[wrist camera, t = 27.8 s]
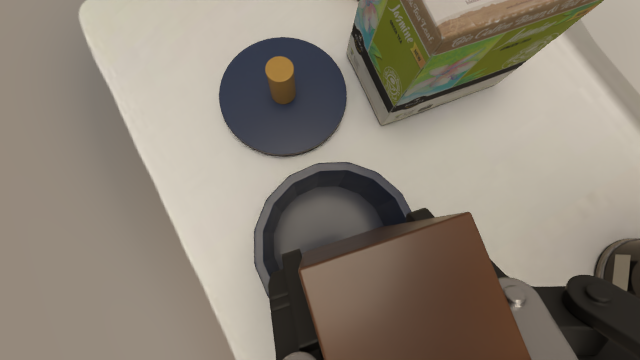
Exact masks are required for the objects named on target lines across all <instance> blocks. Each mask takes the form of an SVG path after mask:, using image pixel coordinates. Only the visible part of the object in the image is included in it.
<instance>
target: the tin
mask: <svg viewBox="0 0 640 360" xmlns="http://www.w3.org/2000/svg"><path fill="white" fill-rule="evenodd" d="M410 212H411V210H410V208H409V206H408V204H407V202H406V200H405V198H404V197H403V195H402V194H401V192H400V191H399V190H397V189H396V188H395V187H394V186H393V185H392V184H390V183H389V182H388V181H387V180H386V179H385V178H384V177H382V176H381V175H380V174H379V173H377V172H375V171H372V170H369V169H366V168H364V167H361V166H358V165H355V164H352V163H350V162H337V163H318V164H314V165H312V166H310V167H308V168H305V169H303V170H301V171H299V172H297V173H294V174H292V175H290V176H289V177H287V178H286V179H285V181H284V182H283V183H282V184H281V185H280V186H279V187H278V188H277V189H276V190H275V191H274V192H273V193H272V194H271V195H270V196H269V197H268V198H267V200H266V202H265V204H264V207H263V209H262V212H261V214H260V217H259V219H258V222H257V224H256V227H255V231H254V263H255V267H256V269H257V272H258V274H259V277H260V279H261V281H262V284H263V286H264V288H265V291H266V293H267V296H268V297H269V292H268V283H269V280H270V277H271V273H272V272H275V271H278V270H281V269H284V267H283V262H282V256H281V255H282V254H284V253H287V252H290V251H293V250H296V249H300V251H301V254H302V257H303V253H304V252H306V251H309V250H312V249H315V248H318V247H321V246H324V245H327V244H330V243H333V242H336V241H339V240H342V239H345V238H349V237H352V236H355V235H358V234H361V233H364V232H367V231H370V230H373V229H376V228H379V227H384V226H390V225H395V224H401V223H406V214H407V213H410Z"/></svg>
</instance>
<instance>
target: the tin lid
mask: <svg viewBox="0 0 640 360" xmlns="http://www.w3.org/2000/svg"><path fill="white" fill-rule="evenodd" d="M219 101H220V107H221V112H222V114H223V117H224V119H225V121H226V123H227V125H228V126H229V128H230V129H231V131H232V132H233V133H234V134H235V135H236V136H237V138H238V139H240V140H241V141H242V142H243V143H245V144H246V145H248V146H249V147H251V148H253V149H255V150H257V151H260V152H263V153H266V154H271V155H279V156H287V155H296V154H300V153H304V152H306V151H309V150H311V149H313V148H315V147H317V146H319V145H320V144H322V143H323V142H324V141H325V140H327V139H328V138H329V137H330V136H331V135H332V133H333V132H334V131H335V130H336V128H337V127H338V125H339V123H340V121H341V119H342V117H343V114H344V110H345V106H346V85H345V81H344V78H343V75H342V73H341V71H340V69H339V68H338V66H337V64H336V63H335V62H334V61H333V59H332V58H331V57H330V56H329V55H328V54H327V53H326V52H324V51H323V50H322V49H320V48H319V47H317V46H315V45H313V44H311V43H309V42H306V41H303V40H300V39H295V38H285V37H280V38H271V39H266V40H263V41H260V42H257V43H255V44H253V45H251V46H249V47H247V48H246V49H244V50H243V51H242V52H240V53H239V54H238V55H237V56H236V57H235V58H234V59H233V60H232V62H231V63H230V64H229V66H228V67H227V69H226V71H225V73H224V75H223V78H222V80H221V85H220V91H219Z"/></svg>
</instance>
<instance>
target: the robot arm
mask: <svg viewBox="0 0 640 360" xmlns="http://www.w3.org/2000/svg"><path fill="white" fill-rule="evenodd" d="M430 218H435V217H434V216H433V215H432V214H431V212H430V211H429V210H428V209H426V208H422V209H419V210H416V211H413V212H410V213H407V214H406V223H407V222H413V221H418V220H424V219H430ZM281 256H282V262H283V267H284V269H281V270H278V271H275V272H272V273H271V277H270V280H269V283H268V292H269V299H270V309H271V317H272V325H273V334H274V342H275V350H276V360H324V358H323V355H322V351H321V348H320V345H319V341H318V338H317V334H316V331H315V327H314V324H313V321H312V317H311V314H310V310H309V307H308V304H307V300H306V297H305V293H304V290H303V287H302V283H301V280H300V276H299V273H298V269H299V266H300V263H301V260H302V254H301V251H300V249H296V250H293V251H290V252H287V253H284V254H282V255H281ZM490 260H491V259H490ZM491 263H492V265H493V268H494V270H495V272H496V275H497V277H498V280H499V282H500V285H501V287H502V289H503V292H504V294H505V297H506V299H507V301H508V304H509V306H510V309H511V311H512V313H513V316H514V318H515V321H516V323H517V326H518V328H519V330H520V333H521V335H522V338H523V340H524V342H525V345H526V347H527V350H528V352H529V354H530V357H531V359H532V360H640V239H624V240H620V241H617V242H615V243H613V244H612V245H610V246H609V247H608V248H607V249H606V250H605V251H604V252H603V254H602V255H601V257H600V259H599V262H598V265H597V270H596V277H595V276H590V275H578V276H574V277H572V278H571V279H570V280H569V281H568V283H567V285H566V286H560V287H533V286H529V285H528V284H526V283H525V282H523V281H521V280H518V279H514V278H509V277H508V276H506V275H505V274H504V273H503V272H502V271H501V270H500V269H499V268H498V267H497V266H496V265H495V264H494V263H493V262H492V261H491Z"/></svg>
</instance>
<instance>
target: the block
mask: <svg viewBox="0 0 640 360" xmlns="http://www.w3.org/2000/svg"><path fill="white" fill-rule="evenodd" d="M298 273H299V276H300V280H301V283H302V287H303V290H304V293H305V297H306V300H307V304H308V307H309V310H310V314H311V317H312V321H313V324H314V327H315V331H316V334H317V338H318V341H319V345H320V348H321V351H322V355H323V358H324V360H532V359H531V357H530V354H529V352H528V350H527V347H526V345H525V342H524V340H523V338H522V335H521V333H520V330H519V328H518V326H517V323H516V321H515V318H514V316H513V313H512V311H511V309H510V306H509V304H508V301H507V299H506V297H505V294H504V292H503V289H502V287H501V285H500V282H499V280H498V277H497V275H496V272H495V270H494V268H493V265H492V263H491V260H490V258H489V256H488V253H487V251H486V248H485V246H484V244H483V241H482V239H481V236H480V234H479V231H478V229H477V227H476V224H475V222H474V219H473V217H472V215H471V213H470V212H464V213H459V214H453V215H447V216H441V217H436V218H430V219H424V220H418V221H413V222H407V223H401V224H395V225H390V226H384V227H379V228H376V229H373V230H370V231H367V232H364V233H361V234H358V235H355V236H352V237H349V238H345V239H342V240H339V241H336V242H333V243H330V244H327V245H324V246H321V247H318V248H315V249H312V250H309V251H306V252H304V253H303V257H302V260H301V263H300V266H299V269H298Z"/></svg>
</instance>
